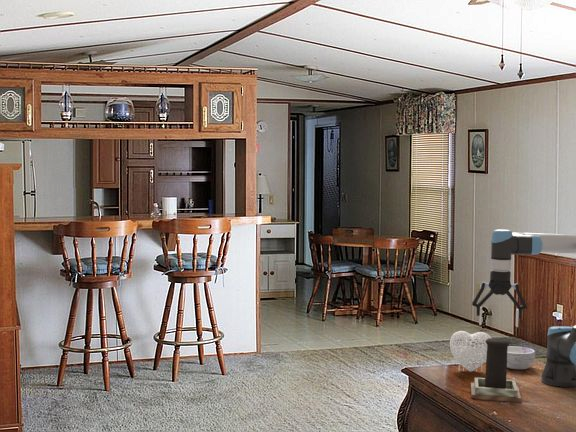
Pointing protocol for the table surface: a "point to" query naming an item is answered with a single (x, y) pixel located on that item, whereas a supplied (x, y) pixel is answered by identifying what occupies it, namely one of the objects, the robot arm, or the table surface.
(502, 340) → the container
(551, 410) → the table surface
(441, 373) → the table surface
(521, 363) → the paper bowls
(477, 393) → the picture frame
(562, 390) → the table surface
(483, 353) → the decorative heart
